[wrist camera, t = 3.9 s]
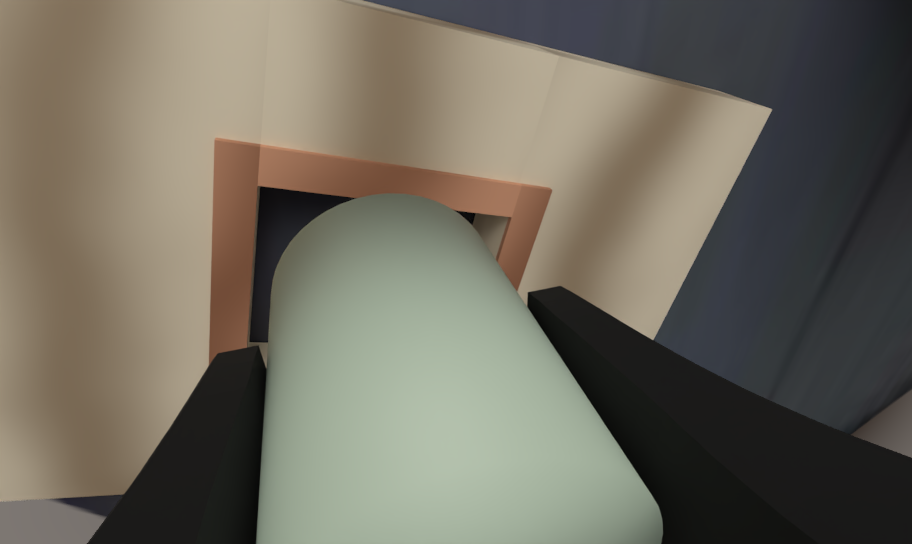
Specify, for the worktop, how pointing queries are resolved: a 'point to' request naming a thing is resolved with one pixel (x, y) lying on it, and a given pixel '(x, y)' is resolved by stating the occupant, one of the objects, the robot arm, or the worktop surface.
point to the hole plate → (298, 189)
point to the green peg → (426, 397)
